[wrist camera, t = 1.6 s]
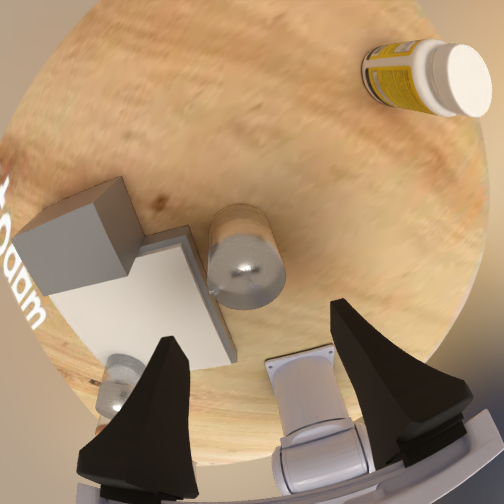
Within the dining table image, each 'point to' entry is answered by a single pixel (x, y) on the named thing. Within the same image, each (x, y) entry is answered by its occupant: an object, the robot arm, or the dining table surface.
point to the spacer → (243, 259)
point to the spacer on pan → (118, 383)
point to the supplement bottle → (429, 78)
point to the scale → (123, 279)
